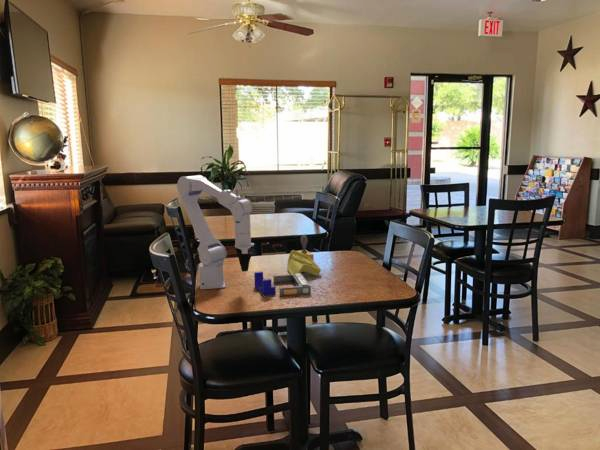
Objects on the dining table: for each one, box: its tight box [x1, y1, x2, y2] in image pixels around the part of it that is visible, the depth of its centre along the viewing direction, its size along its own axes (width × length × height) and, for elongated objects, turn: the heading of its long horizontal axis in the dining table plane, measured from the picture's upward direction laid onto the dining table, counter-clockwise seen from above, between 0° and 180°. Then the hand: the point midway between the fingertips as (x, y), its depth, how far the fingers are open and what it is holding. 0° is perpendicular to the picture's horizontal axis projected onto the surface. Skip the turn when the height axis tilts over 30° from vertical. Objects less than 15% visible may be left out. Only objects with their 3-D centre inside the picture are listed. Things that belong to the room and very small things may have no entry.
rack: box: [272, 273, 312, 297], centre depth 184 cm, size 11×17×4 cm
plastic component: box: [286, 249, 322, 277], centre depth 207 cm, size 20×7×10 cm
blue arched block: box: [253, 271, 277, 297], centre depth 182 cm, size 12×4×6 cm, turn 21°
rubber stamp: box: [296, 234, 315, 262], centre depth 225 cm, size 10×6×12 cm, turn 20°
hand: (244, 268), depth 180 cm, fingers open, 7 cm apart
